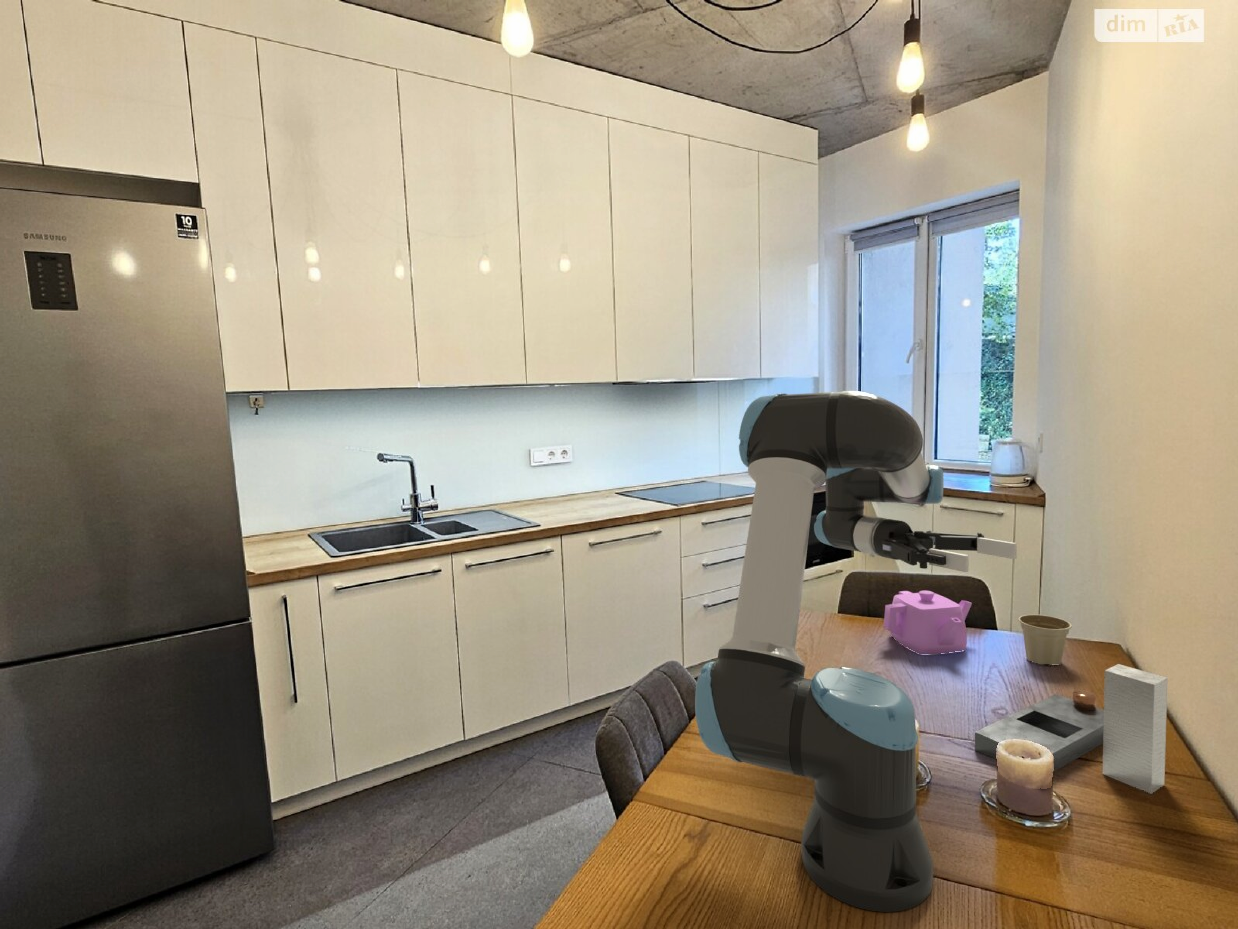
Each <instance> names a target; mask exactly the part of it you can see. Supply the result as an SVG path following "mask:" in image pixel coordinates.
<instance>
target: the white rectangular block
mask: <svg viewBox="0 0 1238 929" xmlns="http://www.w3.org/2000/svg"><path fill="white" fill-rule="evenodd" d="M1168 681H1169V680H1168V677H1167V676H1162V675H1158V674H1155V673H1152V672H1149V671H1144V670H1141V669H1138V668H1134V667H1130V666H1127V665H1123V664H1120V663H1117V664H1115V665H1114V666H1111V667H1108V668H1107V669H1105V670H1104V688H1103V689H1104V690H1103V691H1104V692H1103V693H1104V694H1103V699H1104V700H1103V710H1104V733H1103V744H1102V774H1103V775H1104V776H1106V777H1109V778H1110V779H1113V780H1116V781H1118V782H1121V783H1123V784H1126V785H1129V786H1131V787H1133V788H1135V787H1136V789H1138V790H1140V791H1142V790H1144V791H1143V792H1145V791H1146V792H1145V793H1147V792H1148V793H1147V794H1150V795H1152V794H1154V793H1155V792H1156V791H1159V790H1160V787H1161V788H1163V786H1165V775H1166V774H1165V771H1166V768H1165V767H1166V745H1167V744H1166V741H1167V740H1166V738H1167V706H1168V704H1167V703H1168ZM1153 792H1154V793H1153Z"/></svg>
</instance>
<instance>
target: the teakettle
mask: <svg viewBox="0 0 1238 929" xmlns="http://www.w3.org/2000/svg"><path fill="white" fill-rule="evenodd" d="M972 604H973V603H972V602H970V601H967V600H961V601H960V602H959V603H957V602H955V601H953V600H951V599H949V598H947V597H945V596H942V595H940V594H938V593H935V592H933V591H930V590H920V591H919V592H911V591H908V590H903V591H902V590H901V591H898V594H895V595H894V596H893V600H892V603H890V604H885V607H884V617H883V618H884V619H883V628H884V629H886V630H887V632H888V631H889V632H890V635H892V636H891V638H892V637H894V638H895V639H896V640H897V641H898V642H899V643H901V644H903V645H904V646H905V647H908V648H909V649H911V650H913V651H915V652H917V653H919V654H941V653H949V652H955V651H962V650H966V648H967V646H968V645H967V642H968V641H967V640H968V638H967V636H968V635H967V627H966V622H965V620H966V618H967V616H968V614H969V612H970V608H971V607H972V606H973V605H972ZM897 641H896V642H897ZM898 642H897V643H898ZM899 643H898V644H899ZM905 647H904V648H905ZM909 649H908V650H909Z"/></svg>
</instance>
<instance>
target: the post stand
mask: <svg viewBox="0 0 1238 929" xmlns="http://www.w3.org/2000/svg"><path fill="white" fill-rule="evenodd" d="M1096 703H1097V696H1096V695H1095V694H1094V693H1092V692H1089V691H1084V690H1074V691H1072V698H1069V697H1067V696H1063V695H1060V694H1057V693H1054V694H1053V695H1050V696H1048V697H1046V698H1044V699H1042V700H1040V701H1038V702H1035V703H1034V704H1032V705H1029V706H1027V707H1025V708H1024V709H1020V710H1018V711H1016V712H1015V713H1012V714H1010V715H1008V716H1006V717H1004V718H1002V719H1000V720H997V721H995V722H993V723H991V724H988V725H987V726H985V727H982V728H980V729H978V730H976V731H974V750H975V751H976V752H980V754H981V753H982V754H983V755H985V756H988V757H990V758H992V757H993V758H992V759H995V760H996V748H997V745H998V743H999V742H1001V741H1003V740H1006V739H1025V740H1030V741H1032V742H1034V743H1039V744H1040V745H1042V746H1045V747H1047V749H1050V752H1051V753H1052V754H1053V756H1054V772H1056V771H1058V770H1060V769H1061V768H1063V767H1064V766H1066V765H1068V764H1070V763H1072V762H1073V761H1075V760H1077V759H1079V758H1080V757H1082V756H1084V755H1085V754H1087V753H1089V752H1091V751H1092V750H1094V749H1096V748H1097V747H1100V746H1101V745H1103V733H1104V709H1101V708H1098V707H1097V704H1096Z"/></svg>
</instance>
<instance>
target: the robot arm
mask: <svg viewBox="0 0 1238 929" xmlns="http://www.w3.org/2000/svg"><path fill="white" fill-rule="evenodd" d="M739 427H740V428H739V434H738V439H739V444H738V451H739V452H738V453H739V456H740V460H741V462H742V463H743V465H744V466H745V467H746V468H747V472H748V475H749V477H750V478H751V479H752V480H753V481H754V482H755V487H754V493H753V500H752V505H751V512H750V519H749V526H748V531H747V537H746V538H747V539H746V544H745V552H744V558H743V565H742V570H741V571H742V572H741V577H740V578H741V579H740V584H739V589H738V597H737V603H736V611H735V615H734V623H733V629H732V636H731V638H730V639H729V640H728V641H727V642H725V643H723V645H721V646H719V648H718V652H717V658H716V661H715V660H712V661H709V662H707V663H705V664H704V665H703V666H702V668H701V669H700V674H699V675H698V676H697V680H696V685H695V686H696V687H695V698H694V712H695V721H696V725H697V726H696V727H697V729H698V733H699V737H700V739H701V740H702V741H701V742H702V743H703V745H704V746H705V747H706V748H707V750H708V751H710V752H711V753H713V754H716V755H718V756H721V757H725V758H728V759H731V760H733V761H734V762H736V763H746V764H750V765H755V766H759V767H761V768H766V769H770V770H775V771H778V772H783V773H787V774H790V775H795V776H800V777H804V778H807V779H811V780H813V782H814V799H813V802H812V805H811V806H810V810H809V813H808V816H807V819H806V822H805V824H804V828H803V831H802V834H801V843H800V844H801V862H802V865H803V867H804V870H805V872H806V873H807V875H808V876H809V878H810V879H811V880H812V881H813V882H814V884H816V886H818V887H819V888H820V889H821V890H823V891H824V892H825V893H826V894H827V895H830V896H831V897H833V898H835V899H836V900H839V901H840V902H842V903H844V904H847V905H849V906H852V907H856V908H859V909H863V910H867V911H873V912H885V913H886V912H887V913H888V912H890V913H891V912H901V911H905V910H909V909H911V908H914V907H916V906H918V905H920V904H921V903H923V902H925V901H926V899H927V898H928V897H929V895H930V894H931V893H932V889H933V885H934V865H933V858H932V857H933V856H932V855H931V852H930V849H929V845H928V844H927V839H926V837H925V835H924V831H923V828H922V825H921V823H920V821H919V817H918V815H917V771H916V770H917V768H916V763H917V761H916V760H917V758H916V755H917V754H916V753H917V752H916V751H917V750H916V746H917V745H918V739H919V734H918V732H917V728H916V716H915V713H916V712H915V708H914V704H913V702H912V700H911V699H910V697H909V695H908V694H907V693H906V692H905V691H904V690H903V689H902V688H901V687H899V686H898V685H897V684H896V683H894V682H893V681H890V680H889V679H888V678H885V677H883V676H881V675H878V674H877V673H873V672H870V671H867V670H863V669H859V668H855V667H848V666H840V667H839V668H837V667H834V666H833V667H826V668H822V669H820V670H818V671H817V672H815V674H814V675H813V677H812V679H810V678H805V672H806V671H805V670H806V664H805V663H804V662H803V660H802V659H801V657H800V656H799V655H798V653H797V651H796V646H797V638H798V628H799V619H800V612H801V611H800V610H801V603H802V594H803V588H804V587H803V586H804V579H805V571H806V561H807V553H808V552H807V551H808V544H809V536H810V535H809V534H810V529H811V528H810V525H811V518H812V512H813V511H812V510H813V504H814V503H813V502H814V493H815V491H816V490H817V489H819V488H820V487H822V486H823V485H825V510H822V511H821V512H819V513H818V515H817V516H816V518H815V519H816V521H815V522H814V524H813V529H814V534H815V536H816V539H817V540H818V541H819V542H821V543H823V545H824V544H825V545H828V546H830V547H831V546H832V547H833V548H835V549H843V550H849V551H855V552H859V553H864V554H869V557H870V558H874V557H875V556H877V557H882V558H885V559H890V560H897V561H902V562H904V563H906V564H908V565H910V566H917V565H918V564H919V569H922V570H923V569H928V565H929V566H934V567H938V568H943V569H949V570H954V571H958V572H963V573H968V572H969V555H968V554H966V553H965V554H964V553H959V552H954V551H970V552H971V551H974V552H977V553H978V554H984V555H987V556H995V557H999V558H1005V559H1011V560H1015V559H1017V551H1018V550H1017V547H1018V546H1017V544H1018V543H1017V542H1011V541H1005V540H998V539H992V538H986V537H985V535H984V534H982V532H979V531H977V534H974V533H971V534H970V533H960V532H959V533H958V532H944V531H943V532H942V531H934V530H926V531H922V530H921V531H920V530H916V531H913V529H912V528H911V526H910V525H909V524H908V523H907V522H906V521H903V520H898V519H892V518H891V519H890V518H886V517H880V516H879V517H878V516H873V515H865V514H864V512H865V511H864V510H865V503H895V504H896V503H897V504H918V505H919V504H920V505H926V504H928V505H929V504H940V503H942V501H943V499H944V471H943V468H942V467H941V466H939V465H930V464H926V462H925V459H924V457H923V454H922V450H923V444H924V443H923V442H924V440H923V435H922V431H921V428H920V425H919V424H918V422H917V420H915V418H914V417H913V416H912V415H911V414H909V413H908V411H906V410H905V409H904V408H902V407H900V406H899V405H897V404H896V403H895V402H892V401H889V400H888V399H886V398H883V397H882V396H881V397H880V396H878V395H875V394H872V393H868V392H864V391H856V390H842V391H827V392H811V393H810V392H809V393H791V394H789V393H784V392H781V393H776V394H774V395H763V396H759V397H757V398H755V399H754V400H753V401H751V403H750V404H749V405H748V407H746V410H745V412H744V414H743V417H742V420H741V423H740V426H739ZM952 551H953V552H952Z"/></svg>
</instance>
